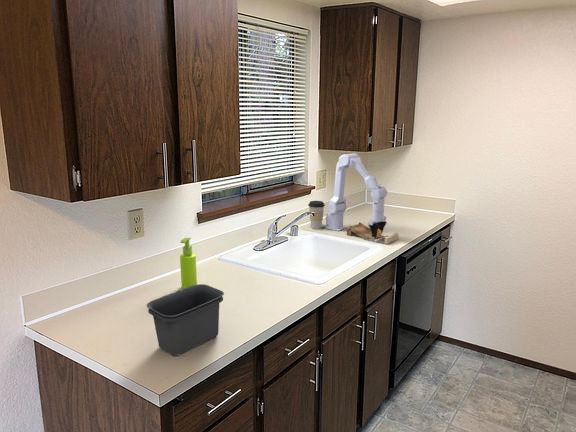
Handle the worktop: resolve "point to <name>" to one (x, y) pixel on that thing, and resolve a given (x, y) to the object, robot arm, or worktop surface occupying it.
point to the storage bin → (186, 317)
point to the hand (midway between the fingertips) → (376, 235)
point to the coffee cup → (316, 213)
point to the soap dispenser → (188, 265)
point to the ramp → (359, 231)
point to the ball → (379, 233)
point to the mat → (384, 239)
